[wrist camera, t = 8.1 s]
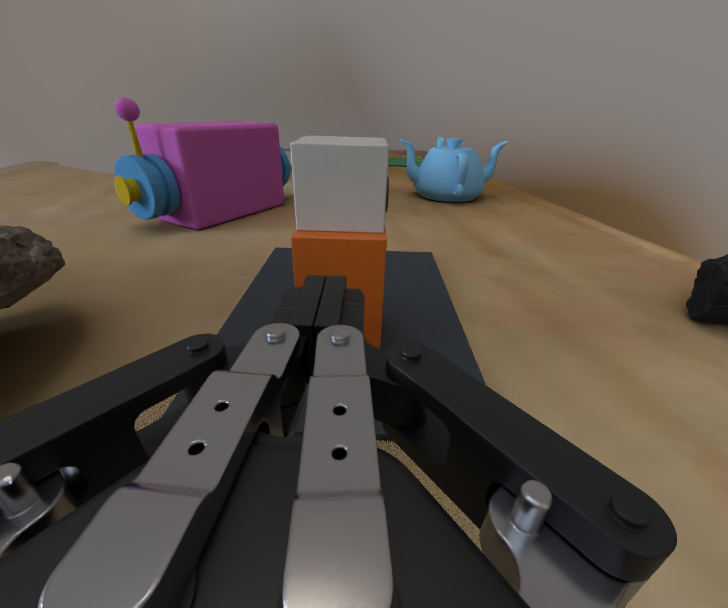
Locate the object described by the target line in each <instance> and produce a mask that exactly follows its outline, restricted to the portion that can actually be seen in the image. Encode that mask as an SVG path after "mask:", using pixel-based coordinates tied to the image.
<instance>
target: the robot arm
mask: <svg viewBox="0 0 728 608" xmlns="http://www.w3.org/2000/svg"><path fill="white" fill-rule="evenodd" d="M364 305H365V295H364V294H363V293H362V291H361V290H360V289H347V277H346V276H327V277H326V275H307V276H306V278H305V281H304V284H303V286H302V287H292V288H291V289H289V290H288V291H286V292H285V293H284V295H283V297H282V299H281V302H280V303H279V306H278V308H277V310H276V312H275V314H274V316H273V318H272V321H271V323H270V324H269V325H266V326H263V327H261V328H259V329H258V330H257V331H255V333H254V334H253V335H252V337H251V339H250V340H249V342H248V343H246V344H241V345H235V346H229V347H225V345H224V341H223V339H222V338H221V337H219V336H217V335H214V334H199V335H194V336H191V337H188V338H186V339H183V340H181V341H179V342H177V343H174V344H172V345H170V346H168V347H165V348H163V349H161V350H159V351H156V352H154V353H152V354H150V355H147V356H145V357H143V358H141V359H138V360H136V361H134V362H132V363H129V364H127V365H125V366H123V367H120V368H118V369H116V370H114V371H111V372H109V373H107V374H105V375H102V376H100V377H98V378H96V379H93V380H91V381H89V382H87V383H84V384H82V385H80V386H78V387H75V388H73V389H71V390H69V391H66V392H64V393H62V394H60V395H57V396H55V397H53V398H51V399H48V400H46V401H44V402H42V403H39V404H37V405H35V406H33V407H30V408H28V409H26V410H24V411H21V412H19V413H17V414H15V415H12V416H10V417H8V418H6V419H3V420H1V421H0V608H624V607H625V606H626V604H627V603H628V602H629V601H630V600H631V599H632V598H633V597H634V595H635V594H636V593H637V592H638V591H639V590H640V589H641V587H642V586H643V585H644V584H645V583H646V582H647V581H648V579H649V578H650V577H651V576H652V575H653V574H654V573H655V571H656V570H657V569H658V568H659V567H660V566H661V565H662V563H663V562H664V561H665V560H666V559H667V558H668V557H669V555H670V554H671V553H672V552H673V551H674V549H675V547H676V544H677V534H676V531H675V528H674V526H673V524H672V521H671V520H670V518H669V517H668V515H667V514H666V513H665V511H664V510H663V509H662V508H661V507H660V506H659V505H658V504H657V502H655V501H654V500H653V499H652V498H651V497H650V496H648V495H647V494H646V493H644V492H643V491H642V490H640V489H639V488H637V487H636V486H634V485H633V484H631V483H630V482H628V481H627V480H625V479H624V478H622V477H621V476H619V475H618V474H616V473H615V472H613V471H612V470H610V469H609V468H607V467H606V466H604V465H603V464H602V463H600V462H599V461H597V460H596V459H594V458H593V457H591V456H590V455H588V454H587V453H585V452H584V451H582V450H581V449H579V448H578V447H576V446H575V445H573V444H572V443H570V442H569V441H567V440H566V439H564V438H563V437H561V436H560V435H559V434H557V433H556V432H554V431H553V430H551V429H550V428H548V427H547V426H545V425H544V424H542V423H541V422H539V421H538V420H536V419H535V418H533V417H532V416H530V415H529V414H527V413H526V412H524V411H523V410H521V409H520V408H518V407H517V406H516V405H514V404H513V403H511V402H510V401H508V400H507V399H505V398H504V397H502V396H501V395H499V394H498V393H496V392H495V391H493V390H492V389H490V388H489V387H487V386H486V385H484V384H483V383H481V382H480V381H478V380H477V379H475V378H474V377H473V376H471V375H470V374H468V373H467V372H465V371H464V370H462V369H461V368H459V367H458V366H456V365H455V364H453V363H452V362H450V361H449V360H447V359H446V358H444V357H443V356H441V355H440V354H438V353H437V352H435V351H434V350H432V349H431V348H430V347H428V346H426V345H424V344H422V343H419V342H415V341H401V342H397V343H394V344H393V345H391V346H390V347H389V348H388V350H384V349H380V348H377V347H375V346H373V345H371V344H370V343H369V342H368V341H367V340H366V339H365V338H364ZM307 384H309V390H308V399H307V407H306V416H305V425H304V433H303V434H301V435H295V436H294V433H295V430H296V427H297V424H298V421H299V418H300V415H301V412H302V409H303V405H304V393H305V390H306V385H307ZM181 390H183V392H184V396H185V399H186V402H187V404H185V405H183V406H181V407H180V408H178V409H176V410H174V411H173V412H171V413H169V414H167V415H166V416H164V417H162V418H160V419H159V420H157V421H155V422H154V423H152V424H150V425H148V426H147V427H145V428H143V429H141V430H139V431H135V428H134V424H135V421H136V419H137V417H138V416H139V415H140V414H141V413H142V412H143V411H145V410H146V409H148V408H150V407H152V406H154V405H156V404H157V403H159V402H161V401H163V400H165V399H167V398H168V397H170V396H172V395H174V394H176V393H178V392H179V391H181ZM374 420H377V421H381V422H382V427H383V429H384V431H385V432H386V434H387V435H388V436H389V437H390V438H391V439H392V440H393V441H394V442H395V443H396V444H397V445H398V446H399V447H400V448H401V449H402V450H403V451H404V452H405V453H406V454H407V455H408V456H409V457H410V458H411V459H412V460H413V461H414V462H415V463H416V464H417V465H418V467H419V468H420V469H421V470H422V471H423V472H424V473H425V474H426V475H427V476H428V477H429V478H430V479H431V480H432V481H433V482H434V483H435V484H436V485H437V486H438V487H439V488H440V489H441V490H442V491H443V492H444V493H445V494H446V495H447V496H448V497H449V498H450V499H451V500H452V501H453V502H454V503H455V504H456V505H457V506H458V507H459V508H460V510H461V511H462V512H463V513H464V514H465V515H466V516H467V517H468V518H469V519H470V520H471V521H472V522H473V523H474V524H475V525H476V526H477V527H478V528H479V529H480V535H479V539H480V545H481V549H482V552H483V553H482V552H481V550H480V549H479V548H478V547H477V546H476V545H475V544H474V543H473V541H472V540H471V539H470V538H469V537H468V536H467V535H466V533H465V532H464V531H463V530H462V529H461V528H460V527H459V526H458V524H457V523H456V522H455V521H454V520H453V519H452V518H451V516H450V515H449V514H448V513H447V512H446V511H445V510H444V509H443V507H442V506H441V505H440V504H439V503H438V502H437V501H436V499H435V498H434V497H433V496H432V495H431V494H430V493H429V492H428V490H427V489H426V488H425V487H424V486H423V485H422V484H421V482H420V481H419V480H418V479H417V478H416V477H415V476H414V475H413V473H412V472H411V471H410V470H409V469H408V468H407V467H406V466H405V465H404V464H403V463H401V462H400V461H399V460H398V459H397V458H395V457H394V456H392V455H391V454H389V453H387V452H385V451H384V450H382V449H379V448H377V446H376V436H375V427H374Z"/></svg>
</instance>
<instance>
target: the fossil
mask: <svg viewBox="0 0 728 608" xmlns="http://www.w3.org/2000/svg"><path fill="white" fill-rule="evenodd" d="M64 265H65V261H64V259H63V257H62V254H61V252H60V251H59V249H58V248H55V247H53V246H52V242H51V241H49V240H46V239H44V237H42V236H40V235H37V234H35V233H33V232H32V231H31V230H30V229H28V228H25V227H21V226H18V227H11V226H0V309H2V308H9V307H10V306H12V305H13V304H15V303H16V302H18V301H20V300H21V299H23V298H24V297H26V296H27V295H28V294H29V293H31V292H32V291H34V290H35V289H37V288H38V287H40V286H41V285H43V284H44V283H46V282H47V281H49V280H50V279H51V277H52V276H53V275H54V274H55V273H56V272H57V271H59V270H60V269H61V268H62V267H63V266H64Z"/></svg>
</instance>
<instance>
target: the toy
mask: <svg viewBox="0 0 728 608" xmlns="http://www.w3.org/2000/svg"><path fill="white" fill-rule="evenodd" d="M114 106H115V111H116V113H117V114H118V115H119V117H120V118H122V119H124V120H126V121H128V124H129V129H130V132H131V137H132V141H133V145H134V149H135V154H136V155H130V156H121V157H120V158H119V159H118V160H117V162H116V164H115V170H114V171H115V188H116V192H117V194H118V196H119V198H120V200H121V201H122V202H123V204H125V205H126V206H127V207H128V208H129V209H130V210H131V211H132V212H133V213H134V214H135V215H136V216H138V217H139V218H142V219H144V220H149V219H154V218H157V217H159V219H160V220H162V221H166V222H169V223H173V224H177V225H181V226H185V227H189V228H193V229H197V230H200V229H203V228H207V227H210V226H213V225H217V224H220V223H223V222H226V221H230V220H233V219H236V218H240V217H243V216H246V215H250V214H253V213H256V212H259V211H263V210H266V209H269V208H273V207H276V206H279V205H282V204H283V203H284V193H283V186H284V185H285V184H286V183H287V181H288V179H289V176H290V163H289V160H288V157H287V155H286V153H285V151H284V150H283V149H282V148H281V147H280V145H279V134H278V126H277V125H276V124H274V123H261V122H246V121H245V122H244V121H224V122H188V123H187V122H185V123H149V124H148V123H147V124H137V125H136V131H135V128H134V125H133V121H135V120H136V119H137V118H138V117H139V114H140V111H139V108H138V105H137V104H136V103H135V102H134V101H133V100H131V99H129V98H125V97H123V98H119V99H118V100H116V102H115V105H114ZM136 132H137V134H136ZM137 136H138V137H137Z"/></svg>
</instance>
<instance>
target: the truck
mask: <svg viewBox="0 0 728 608" xmlns="http://www.w3.org/2000/svg"><path fill="white" fill-rule="evenodd" d="M290 145H291V160H292V174H293V188H294V203H295V217H296V230H295V232H294V233H293V235H292V236H291V244H292V257H293V269H294V282H295V287H302V286H303V284H304V281H305V278H306V276H307V275H326V277H327V276H346V277H347V289H360V290H361V291H362V293H363V294H364V295H365V305H364V338H365V339H366V340H367V341H368V342H369V343H370V344H371V345H373V346H375V347H377V348H380V343H381V327H382V310H383V294H384V278H385V261H386V245H387V239H386V230H385V212H387V208H388V193H389V178H388V158H389V145H388V143H387V141H386V139H385V138H366V137H365V138H363V137H333V136H332V137H331V136H304V137H302V138H300V139H298V140H296V141H294V142H292V143H291V144H290Z"/></svg>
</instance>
